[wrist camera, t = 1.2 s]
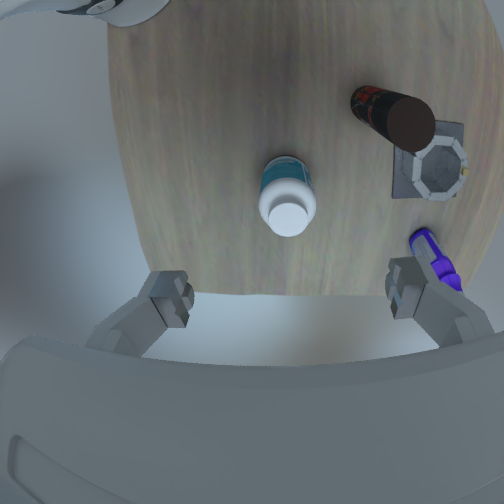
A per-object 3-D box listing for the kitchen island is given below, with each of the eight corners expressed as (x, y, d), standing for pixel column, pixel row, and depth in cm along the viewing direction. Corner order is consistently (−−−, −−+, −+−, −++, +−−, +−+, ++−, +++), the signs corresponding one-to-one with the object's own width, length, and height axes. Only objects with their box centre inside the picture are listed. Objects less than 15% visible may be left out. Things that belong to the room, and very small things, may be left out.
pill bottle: (253, 180, 43) (243, 224, 32) (281, 145, 39) (281, 178, 28) (290, 205, 45) (292, 255, 34) (319, 173, 41) (332, 216, 30)
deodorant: (391, 95, 31) (442, 112, 19) (380, 128, 35) (424, 160, 23) (356, 80, 31) (396, 87, 19) (345, 115, 34) (378, 140, 23)
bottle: (403, 237, 46) (437, 305, 32) (426, 221, 43) (467, 285, 29) (416, 258, 49) (447, 324, 35) (437, 244, 46) (473, 307, 32)
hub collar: (393, 117, 33) (407, 124, 29) (461, 123, 30) (479, 132, 26) (391, 197, 41) (402, 212, 37) (454, 195, 39) (468, 210, 35)
